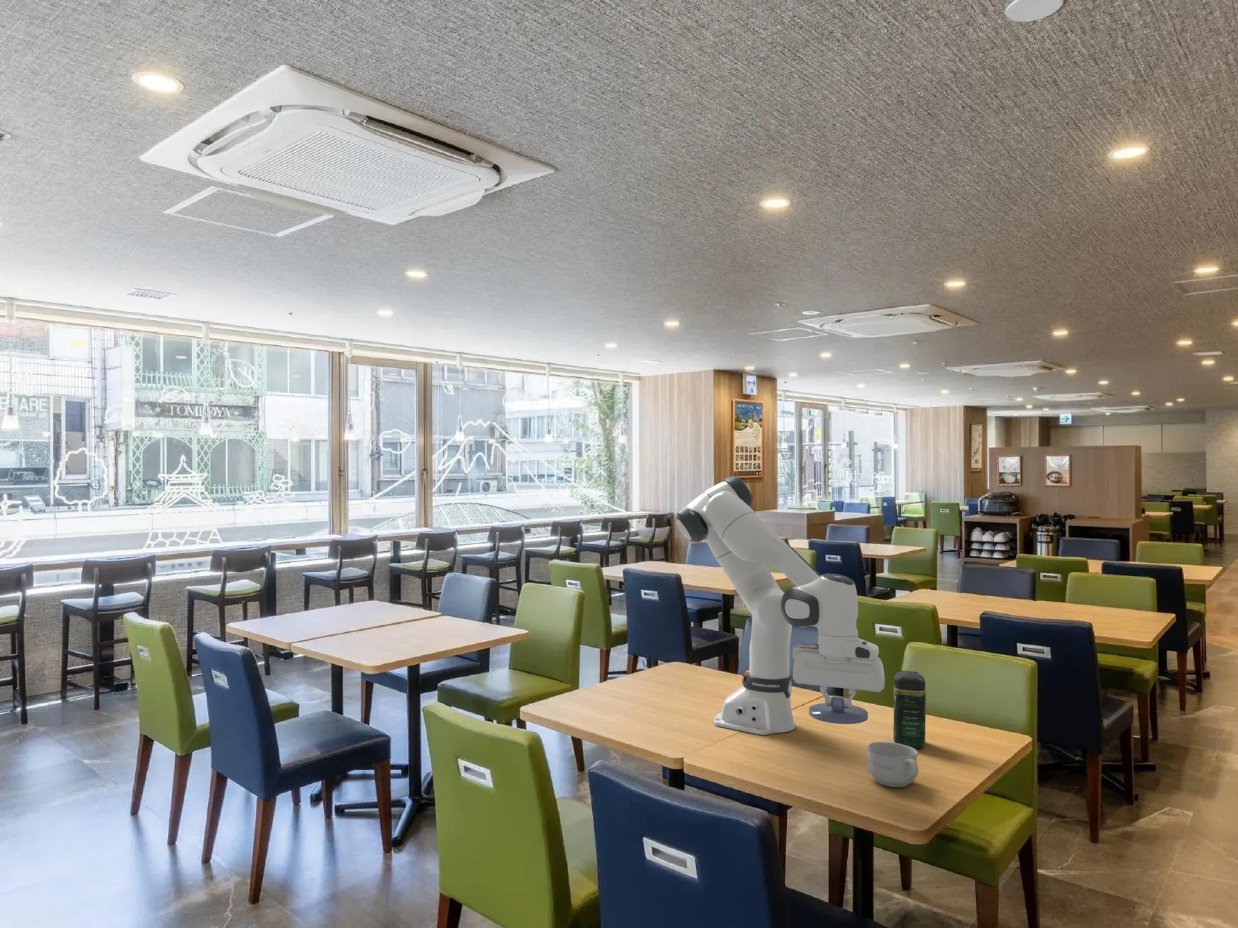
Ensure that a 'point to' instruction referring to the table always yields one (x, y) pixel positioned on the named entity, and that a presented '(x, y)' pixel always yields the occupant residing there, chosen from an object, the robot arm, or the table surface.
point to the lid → (838, 712)
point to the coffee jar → (909, 709)
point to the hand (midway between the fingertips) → (838, 706)
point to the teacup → (892, 763)
